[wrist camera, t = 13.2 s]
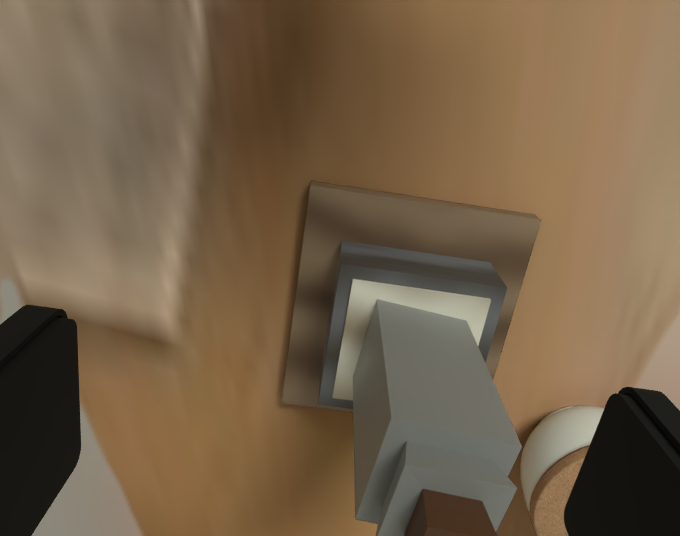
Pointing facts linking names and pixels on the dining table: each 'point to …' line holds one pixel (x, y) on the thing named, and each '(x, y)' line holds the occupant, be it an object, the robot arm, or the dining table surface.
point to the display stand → (396, 278)
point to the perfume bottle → (428, 429)
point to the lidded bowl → (555, 464)
